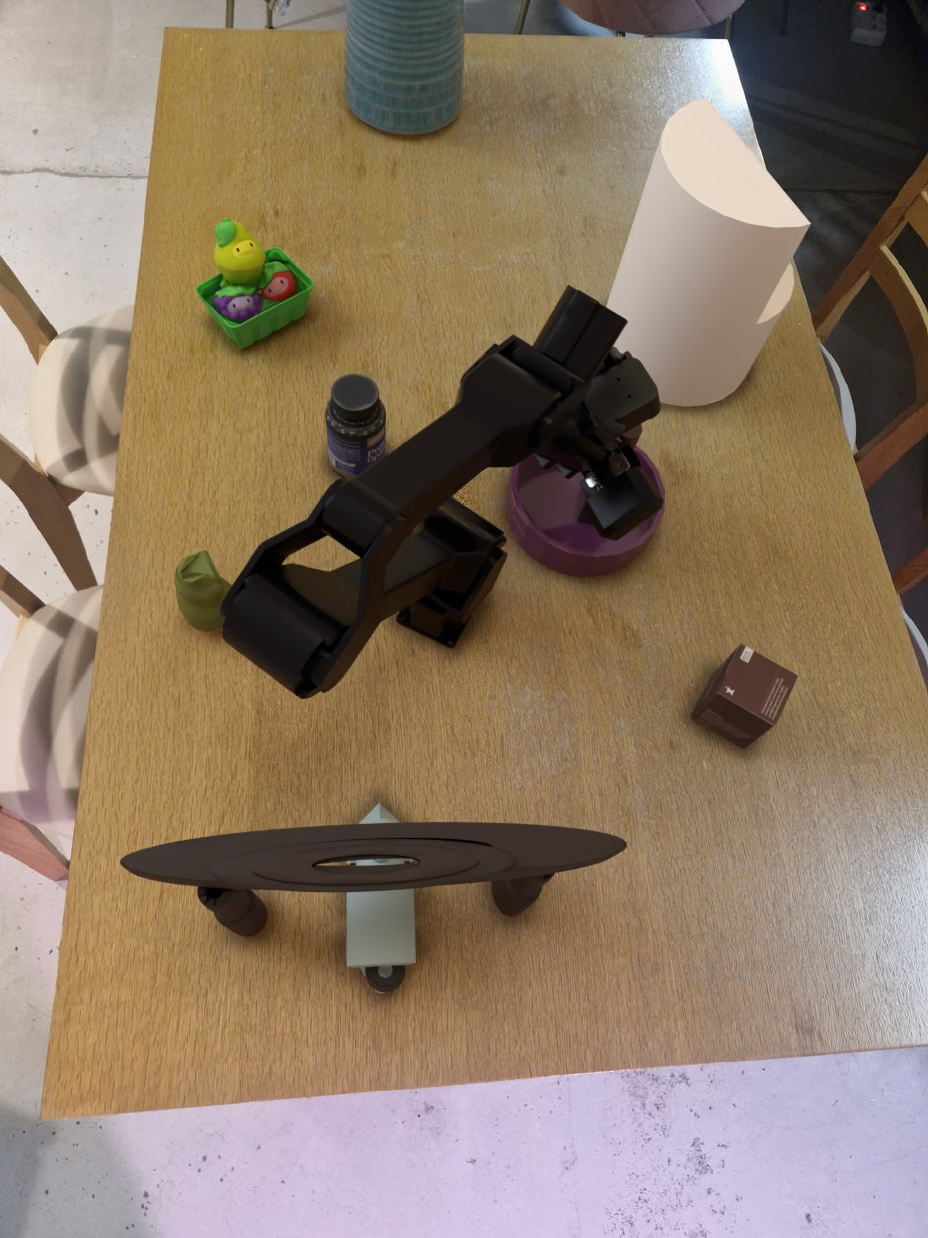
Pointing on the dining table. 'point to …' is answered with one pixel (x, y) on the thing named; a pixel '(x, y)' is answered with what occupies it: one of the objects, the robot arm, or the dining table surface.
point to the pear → (200, 592)
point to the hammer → (626, 438)
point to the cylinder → (705, 260)
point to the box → (744, 697)
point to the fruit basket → (252, 286)
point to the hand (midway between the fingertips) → (624, 463)
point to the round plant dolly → (372, 873)
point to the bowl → (570, 521)
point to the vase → (405, 63)
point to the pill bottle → (355, 425)
